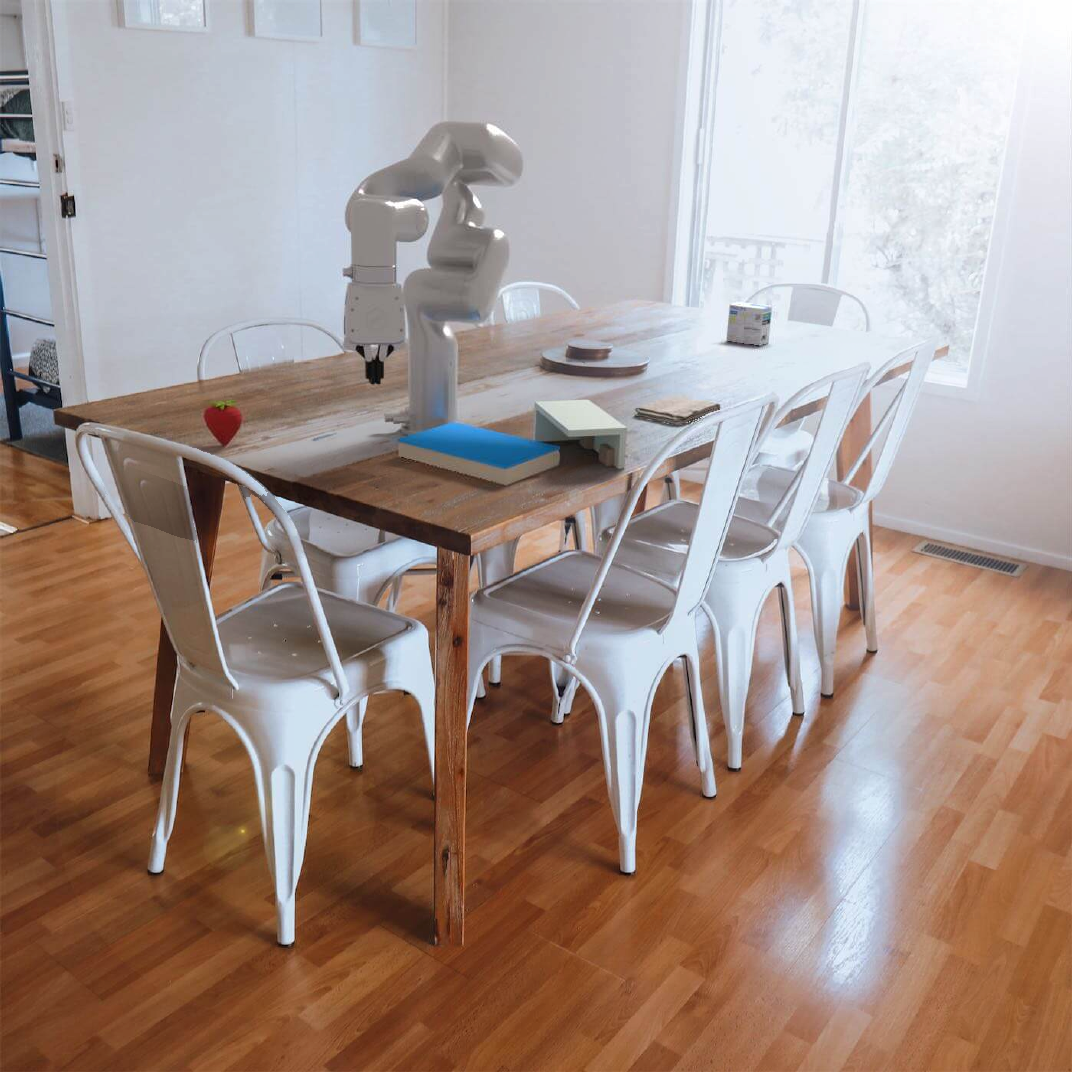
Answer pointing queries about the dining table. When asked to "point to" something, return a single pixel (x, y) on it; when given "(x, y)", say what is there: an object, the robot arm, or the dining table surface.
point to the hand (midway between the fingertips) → (374, 382)
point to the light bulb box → (749, 323)
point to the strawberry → (223, 420)
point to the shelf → (581, 428)
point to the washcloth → (676, 410)
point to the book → (480, 452)
